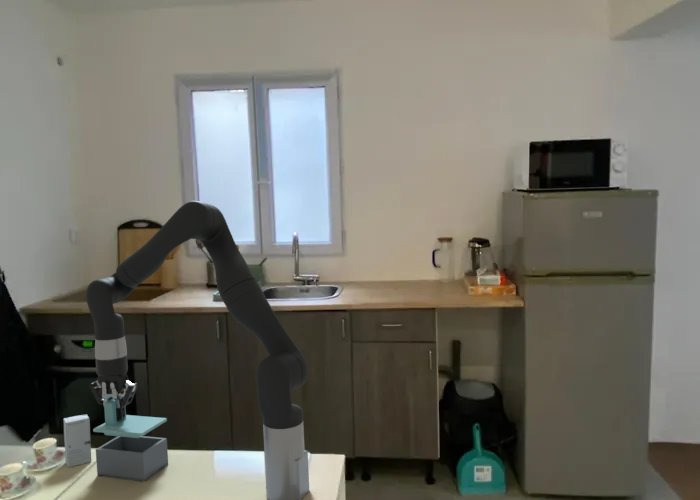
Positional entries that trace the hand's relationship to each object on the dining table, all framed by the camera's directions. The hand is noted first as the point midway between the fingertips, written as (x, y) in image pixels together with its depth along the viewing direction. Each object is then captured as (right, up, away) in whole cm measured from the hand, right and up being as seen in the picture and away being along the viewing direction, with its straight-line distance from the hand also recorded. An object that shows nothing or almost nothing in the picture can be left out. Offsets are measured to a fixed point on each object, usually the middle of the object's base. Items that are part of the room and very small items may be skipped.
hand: (115, 420), depth 150 cm
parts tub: (+5, -13, 0) cm, 14 cm away
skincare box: (-12, -13, +6) cm, 19 cm away
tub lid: (+4, -2, -1) cm, 5 cm away
